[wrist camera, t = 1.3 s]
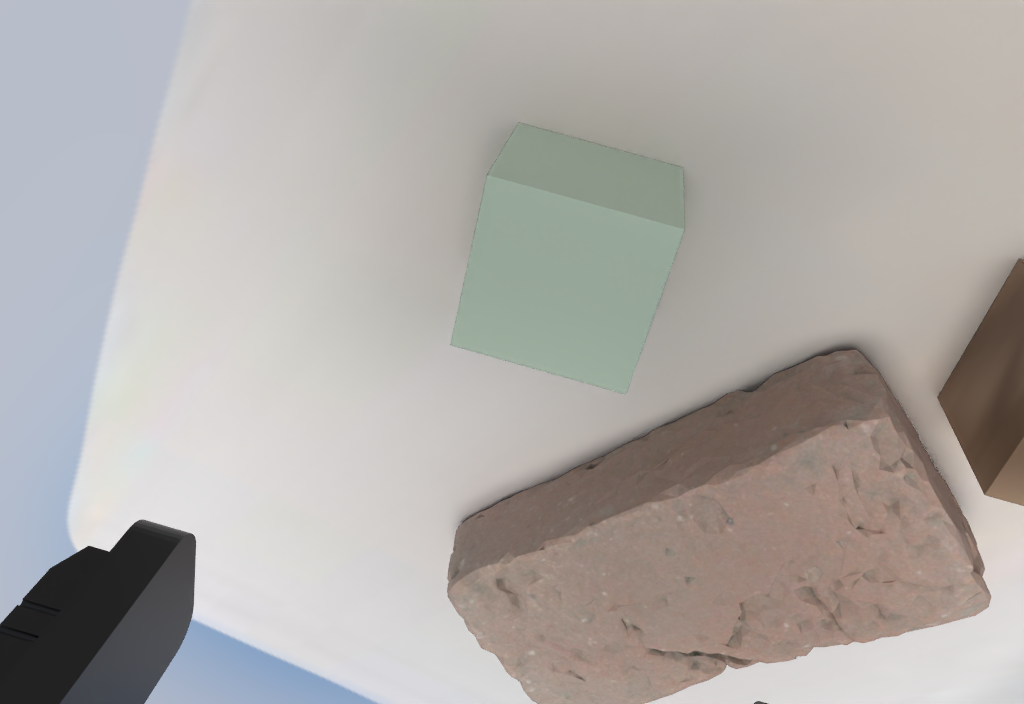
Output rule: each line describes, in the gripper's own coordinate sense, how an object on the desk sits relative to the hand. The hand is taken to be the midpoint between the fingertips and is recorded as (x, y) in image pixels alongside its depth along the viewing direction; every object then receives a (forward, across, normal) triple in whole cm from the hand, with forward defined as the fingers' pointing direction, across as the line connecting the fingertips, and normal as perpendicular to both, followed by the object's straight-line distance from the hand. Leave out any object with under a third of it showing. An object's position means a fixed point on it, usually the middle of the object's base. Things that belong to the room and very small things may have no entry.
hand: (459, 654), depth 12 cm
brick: (+17, -7, +10) cm, 21 cm away
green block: (+17, 0, 0) cm, 17 cm away
